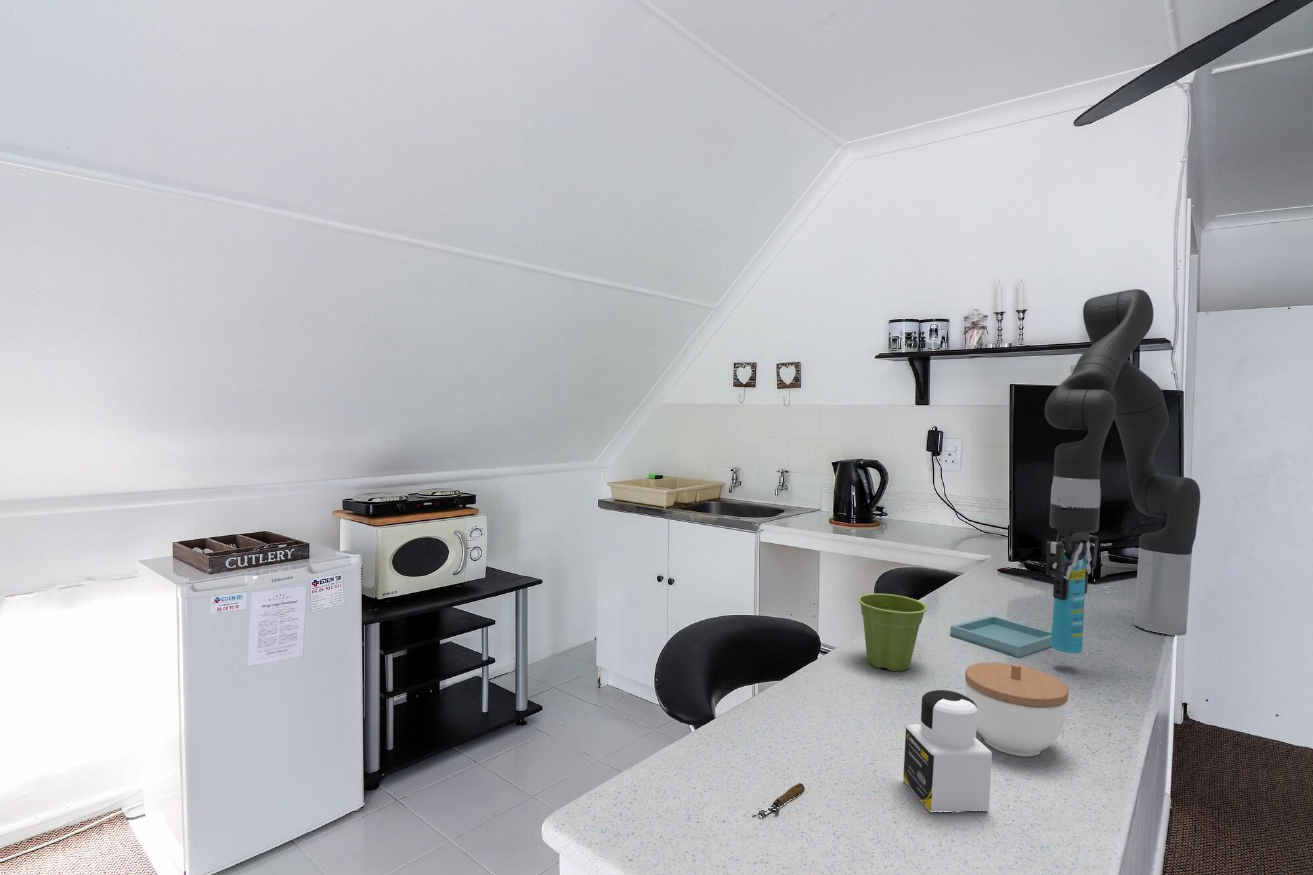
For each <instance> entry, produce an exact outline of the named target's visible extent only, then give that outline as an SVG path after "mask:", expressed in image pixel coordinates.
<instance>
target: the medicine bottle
mask: <svg viewBox="0 0 1313 875" xmlns="http://www.w3.org/2000/svg"><path fill="white" fill-rule="evenodd" d="M921 697H922V698H921V706H920V707H921V708H920V724H916V723H915V724H914V723H913V724H911V723H910V724H907V725H906V726H905V735H904V736H905V740H904V755H903V756H904V759H903V782H905V783H906V785H907V786H908V787H909V788H910V790H911V791H912V793H914V795H915V796H916V797H917V798H918V800H919V799H920V800H919V801H920V802H921V803H922V805H923V804H924V805H923V806H924V807H925V808H926V809H928V810H927V811H928V812H929V811H933V812H934V811H937V812H938V811H943V812H944V811H972V810H973V811H974V810H975V811H976V810H977V811H980V810H981V811H983V810H984V811H985V810H986V811H987V812H989V810H990V799H991V798H990V796H991V794H990V793H991V776H992V760H993V759H992V758H993V753H992V751H991V750H990V749H988V747H987V746H985V745H984V744H983V743H982V742H981V741H980V740H979V739H977V729H976V727H977V705H976V704H975V703H974V701H972V700H971V699H970V698H968V697H966V695H965V694H962V693H960V692H956V691H952V690H947V689H946V690H945V689H937V690H930V691H928V692H926V693H924V694H923V695H922V696H921Z"/></svg>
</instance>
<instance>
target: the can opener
mask: <svg viewBox="0 0 1313 875" xmlns="http://www.w3.org/2000/svg"><path fill="white" fill-rule="evenodd" d="M805 789H806V788H805V786H804V784H803V783H801V782H799V783H797V784H795V785H793V786H792V787H790V788H789V789H787V790H786V791H785V792H784V793H783V794H782V795H780V796H779V797H777V798H775V799H774V801H773V802H772V804H771V805H772V806H771V805H770V806H771V807H773V808H768V810H769V811H772V810H773V809H776V810H773V811H772V812H773V813H772V814H773V815H778V814H779V813H780V808H779V809H778V808H777V807H780V806H782V805H784V803H786V802H787V801H789V800H790V799H792V798H794V797H796V796H798V795H799V794H800V795H802V794H803V793H804V792H805ZM803 791H804V792H803ZM802 792H803V793H802ZM801 793H802V794H801ZM800 795H799V796H800ZM799 796H798V797H799ZM796 798H797V797H796ZM784 806H785V805H784ZM765 812H767V811H764V810H761V811H759V813H758V816H759V815H761V816H763V817H764V813H765Z"/></svg>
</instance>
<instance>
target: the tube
mask: <svg viewBox="0 0 1313 875" xmlns="http://www.w3.org/2000/svg"><path fill="white" fill-rule="evenodd" d="M1084 559H1085V558H1084V556H1083V558H1082V560H1077V563H1076V566H1075V567H1074V568H1072V569H1071V572H1070V576H1069V578H1068V579H1069V592H1068V599H1067V600H1060V599H1056V598H1054V597H1053V609H1052V610H1053V611H1052V621H1051V622H1052V623H1051V624H1052V625H1051V632H1052V635H1051V647H1050V648H1052V649H1054V650H1055V651H1058V652H1062V653H1067V654H1080V653H1082V652H1083V644H1084V641H1083V640H1084V619H1085V618H1084V616H1085V614H1084V613H1085V596H1086V594H1085V574H1086V564H1085V562H1084ZM1064 560H1066V561H1069V560H1068V559H1067V557H1066V556H1065V554H1064ZM1065 567H1066V566H1065V565H1064V571H1065Z"/></svg>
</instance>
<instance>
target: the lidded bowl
mask: <svg viewBox="0 0 1313 875" xmlns="http://www.w3.org/2000/svg"><path fill="white" fill-rule="evenodd" d="M964 674H965V675H964V678H965V696H966V697H968V698H970V699H971V700H972V701H974V703H975V704H976V705H977V727H976V732H978V733H979V734H980V736H981V737H982V738H983V741H984V742H985V744H986V745H987V746H989V747H990V746H991V748H992V749H994V750H996V751H998V752H1001V753H1003V752H1004V754H1008V755H1010V754H1011V755H1010V756H1016V757H1024V758H1028V757H1029V758H1030V757H1037V756H1039V755H1041V753H1042V751H1043V750H1044V751H1045V749H1047V748H1049V747H1050V746H1051V745H1053V744H1054V743H1055V742H1056V740H1057V739H1058V738H1059V736H1060V735H1061V733H1062V730H1063V727H1064V723H1065V721H1066V714H1067V707H1068V705H1067V702H1068V699H1069V696H1070V692H1069V688H1068V686H1067V685H1066V684H1065V683H1064V682H1063V681H1061V680H1060V679H1058V677H1055V676H1053V675H1050V674H1049V673H1046V672H1043V671H1041V670H1038V669H1036V668H1035V669H1034V668H1031V667H1027V666H1023V665H1021V664H1018V663H1005V662H980V663H979V662H978V663H975V664H971V665H970V666H968V667H967V668H966V669H965V673H964Z"/></svg>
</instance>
